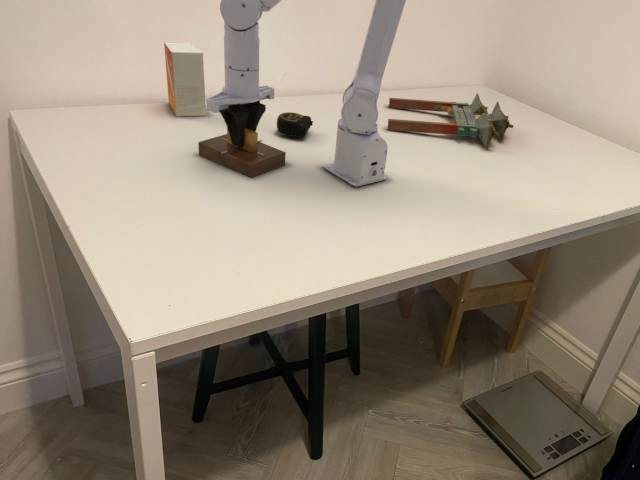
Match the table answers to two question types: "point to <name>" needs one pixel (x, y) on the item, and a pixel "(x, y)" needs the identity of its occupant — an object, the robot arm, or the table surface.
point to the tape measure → (293, 124)
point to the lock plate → (242, 156)
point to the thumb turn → (247, 140)
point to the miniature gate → (464, 120)
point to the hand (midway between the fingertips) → (242, 143)
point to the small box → (185, 78)
